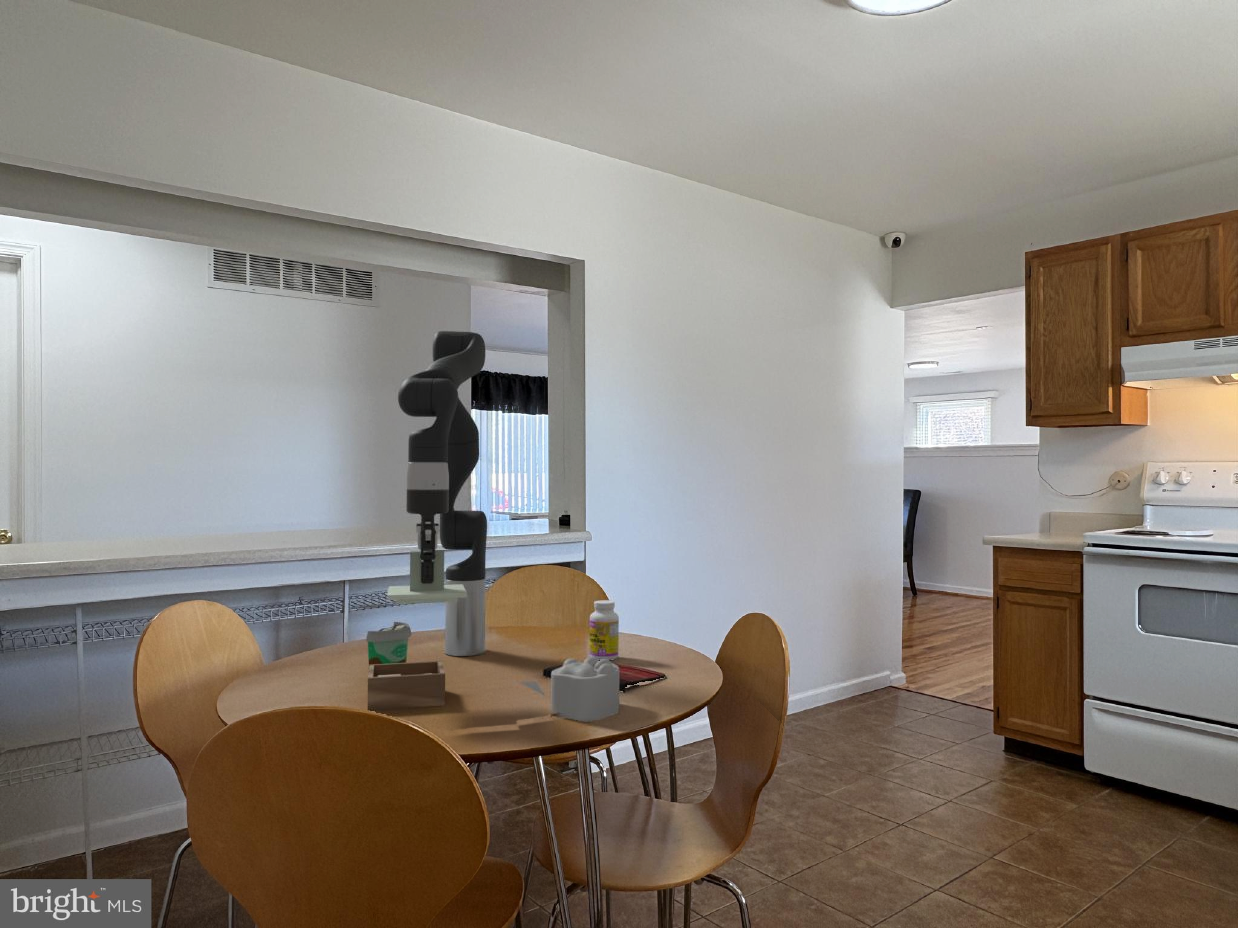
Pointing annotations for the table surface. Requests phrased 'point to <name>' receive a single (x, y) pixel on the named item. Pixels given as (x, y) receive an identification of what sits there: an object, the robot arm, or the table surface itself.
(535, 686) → the mat
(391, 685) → the box
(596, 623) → the supplement bottle
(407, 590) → the lid
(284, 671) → the table surface
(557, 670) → the grey lumpy filled container
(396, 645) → the food container
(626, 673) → the binder
